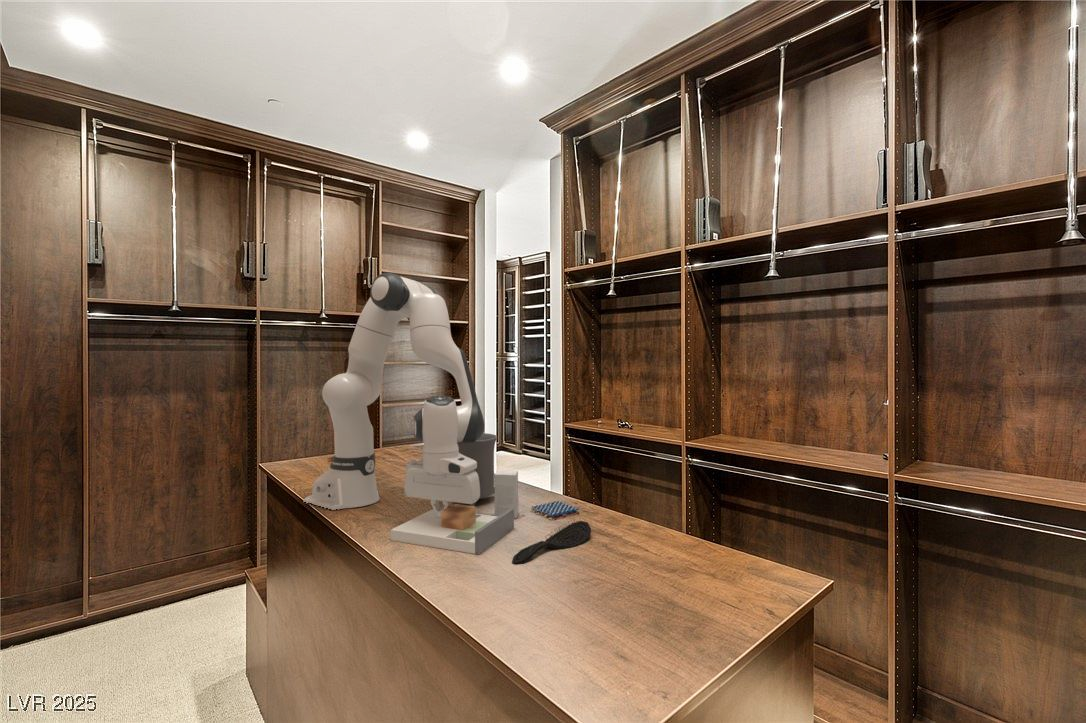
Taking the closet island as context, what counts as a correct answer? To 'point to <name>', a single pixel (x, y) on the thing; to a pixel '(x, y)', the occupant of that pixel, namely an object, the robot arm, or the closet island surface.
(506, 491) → the skincare box
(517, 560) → the hairbrush
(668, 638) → the closet island surface
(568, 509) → the woven mat
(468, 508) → the block
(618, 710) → the closet island surface
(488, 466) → the mug
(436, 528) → the trap deck
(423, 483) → the robot arm
